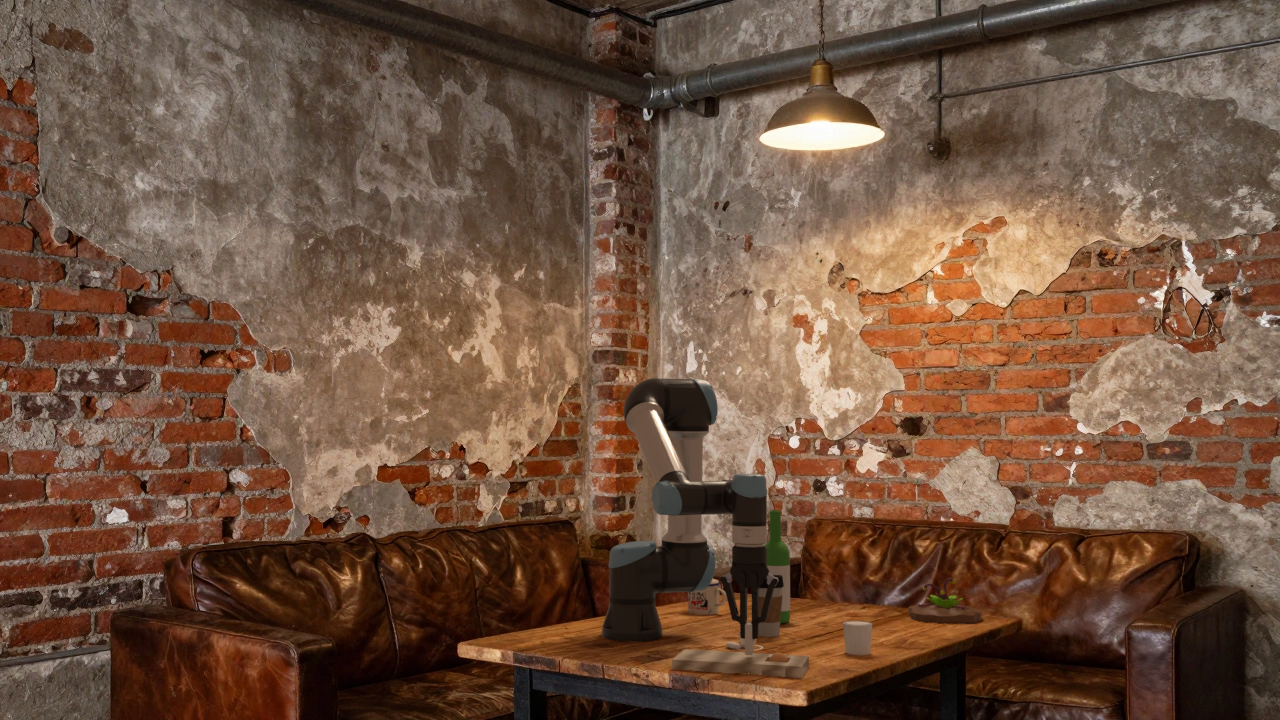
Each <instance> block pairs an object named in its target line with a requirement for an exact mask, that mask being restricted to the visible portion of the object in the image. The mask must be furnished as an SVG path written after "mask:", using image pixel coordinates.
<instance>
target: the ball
mask: <svg viewBox="0 0 1280 720" xmlns="http://www.w3.org/2000/svg"><path fill="white" fill-rule="evenodd" d="M772 654H773V655H772V656H771V657H770V661H769V662H786V663H788V659H787V657H786V656H785V655H786V654H784V653H782V652H774V653H772Z"/></svg>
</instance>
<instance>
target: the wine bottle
mask: <svg viewBox="0 0 1280 720" xmlns="http://www.w3.org/2000/svg"><path fill="white" fill-rule="evenodd" d="M781 514H782V511H781V510H775V509H774V510H770V511H769V540H768V541H767V543H765V544H764V546H766V548H767V568H768V569H769V573H770V574H771V575H782V576H783V583H784V587H782V606H781V618H780V624H786V623H789V622H790V619H791V563H790V562H791V561H790V560H791V557H790V556H791V555H790V550H789V547H788V545H787V543H785V542H784V541H783V540H782V527H781V526H782V515H781Z"/></svg>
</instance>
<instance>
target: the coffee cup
mask: <svg viewBox="0 0 1280 720" xmlns="http://www.w3.org/2000/svg"><path fill="white" fill-rule="evenodd" d="M773 576H774V577H778V578H779V581H778V583H777V584H776V586H775V587H774V591H773V595H772V599H771V604H770V608H769V612H768V616H767V619H766V620H765V621H764V622H761V623H759V636H758V637H765V638H772V637H773V638H774V637H779V636H780V628H781V627H780V626H781V623H780V618H781V606H782V587H784V583H783V576H782V575H773ZM768 586H769V585H768V584H767V578H766V579H765V580H764V581H763V583H762V584H761V585H760V586H759V616H761V612H762V608H763V604H764V600H765V596H766V592H767V588H768Z"/></svg>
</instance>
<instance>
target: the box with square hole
mask: <svg viewBox="0 0 1280 720" xmlns="http://www.w3.org/2000/svg"><path fill="white" fill-rule="evenodd" d="M773 654H774V653H763V652H762V653H761V652H759V653H758V652H754V653H753V655H745V651H744V652H740V651H725V650H724V651H723V650H722V651H721V650H720V651H719V650H703V649H687V648H685V649H683V650H682V651H681V652H679V653H678V654H677V655H676V656H675V657H673V658H672V659H671V670H674V669H681V670H680V671H689V670H693V671H694V672H704V671H705V672H706V673H718V672H721V674H722V673H723V674H733V673H741V674H740V675H743V674H742V673H746V674H745V675H748V673H749V674H761V675H760V676H763V675H770V676H769V677H778V676H781V677H782V678H793V677H794V678H795V679H803V677H804V676H803V675H805V674H806V672H807V670H808V669H809V667H810V656H809V655H800V654H799V655H798V654H797V655H795V654H784V655H785V656H786V657H787V659H788V663H786V662H769V661H770V657H771V656H772V655H773ZM693 671H692V672H693ZM705 672H704V673H705ZM781 677H780V678H781Z"/></svg>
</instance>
